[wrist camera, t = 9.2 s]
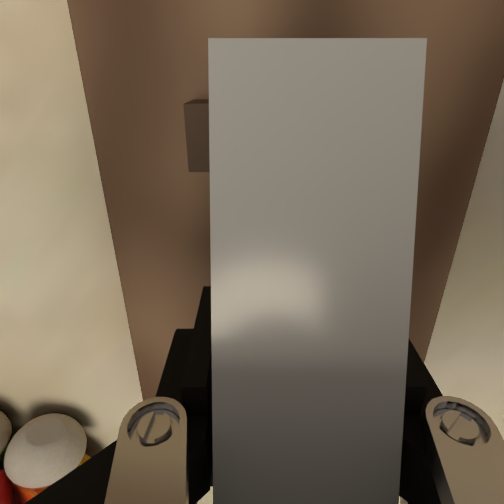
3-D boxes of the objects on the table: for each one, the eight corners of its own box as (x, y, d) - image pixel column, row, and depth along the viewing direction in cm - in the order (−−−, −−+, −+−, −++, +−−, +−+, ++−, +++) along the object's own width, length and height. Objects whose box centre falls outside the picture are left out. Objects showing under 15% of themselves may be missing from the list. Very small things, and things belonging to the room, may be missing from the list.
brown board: (507, -37, 12) (598, -77, 9) (397, 399, 21) (422, 458, 18) (80, -36, 12) (16, -74, 9) (154, 397, 21) (136, 455, 18)
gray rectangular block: (333, 129, 13) (426, 37, 6) (321, 490, 14) (383, 753, 8) (233, 129, 13) (207, 37, 6) (235, 489, 15) (215, 750, 8)
